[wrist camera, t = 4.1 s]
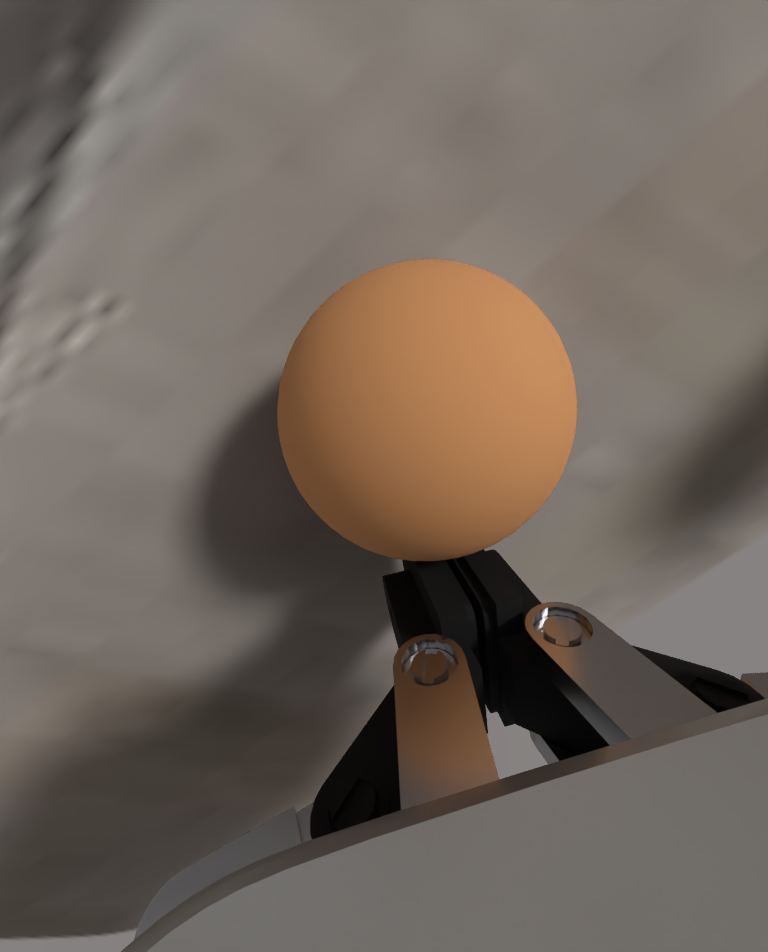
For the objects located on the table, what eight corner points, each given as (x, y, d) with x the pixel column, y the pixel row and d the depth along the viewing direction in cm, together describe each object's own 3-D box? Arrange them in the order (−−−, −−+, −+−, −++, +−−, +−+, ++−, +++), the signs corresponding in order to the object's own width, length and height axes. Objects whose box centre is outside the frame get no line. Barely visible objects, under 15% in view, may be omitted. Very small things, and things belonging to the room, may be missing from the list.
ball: (328, 618, 9) (316, 571, 4) (271, 413, 12) (211, 199, 6) (540, 542, 11) (747, 429, 5) (454, 372, 13) (539, 167, 7)
